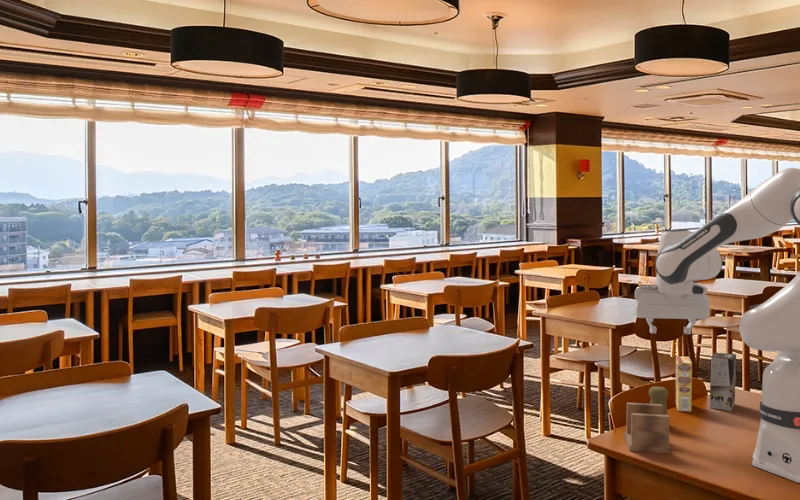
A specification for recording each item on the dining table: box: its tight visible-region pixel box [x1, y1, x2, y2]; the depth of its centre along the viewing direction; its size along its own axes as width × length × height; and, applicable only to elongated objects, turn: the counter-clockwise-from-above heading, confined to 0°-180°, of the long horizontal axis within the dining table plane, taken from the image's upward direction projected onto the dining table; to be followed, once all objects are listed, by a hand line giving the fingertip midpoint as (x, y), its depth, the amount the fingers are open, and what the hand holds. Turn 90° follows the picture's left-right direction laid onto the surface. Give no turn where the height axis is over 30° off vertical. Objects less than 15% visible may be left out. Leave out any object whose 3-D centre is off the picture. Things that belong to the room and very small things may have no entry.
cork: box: [648, 386, 669, 415], centre depth 192 cm, size 6×6×11 cm
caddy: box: [623, 402, 672, 454], centre depth 177 cm, size 10×11×10 cm
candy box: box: [675, 355, 693, 413], centre depth 209 cm, size 9×4×15 cm, turn 162°
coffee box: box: [709, 352, 737, 412], centre depth 210 cm, size 9×6×16 cm
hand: (669, 333), depth 192 cm, fingers open, 8 cm apart
